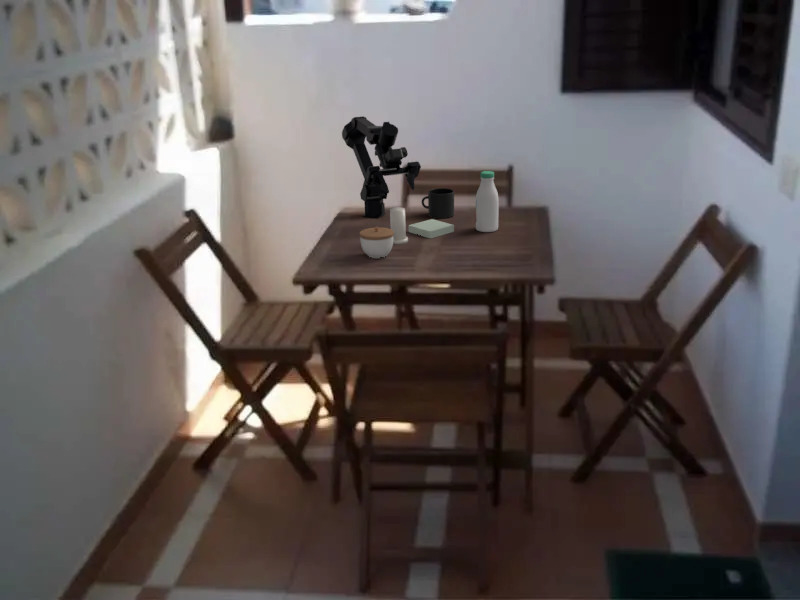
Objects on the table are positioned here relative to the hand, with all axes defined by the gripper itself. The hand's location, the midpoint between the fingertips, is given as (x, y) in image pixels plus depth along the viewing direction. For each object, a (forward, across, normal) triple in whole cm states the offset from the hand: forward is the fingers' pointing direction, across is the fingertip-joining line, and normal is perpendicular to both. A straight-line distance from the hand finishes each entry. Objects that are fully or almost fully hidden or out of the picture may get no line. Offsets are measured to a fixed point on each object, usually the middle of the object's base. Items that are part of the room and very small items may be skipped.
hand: (401, 190), depth 293 cm
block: (+11, +10, +10) cm, 18 cm away
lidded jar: (+24, -16, 0) cm, 29 cm away
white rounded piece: (+16, -5, +7) cm, 18 cm away
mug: (-3, +21, +22) cm, 30 cm away
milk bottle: (+16, +28, +6) cm, 33 cm away
